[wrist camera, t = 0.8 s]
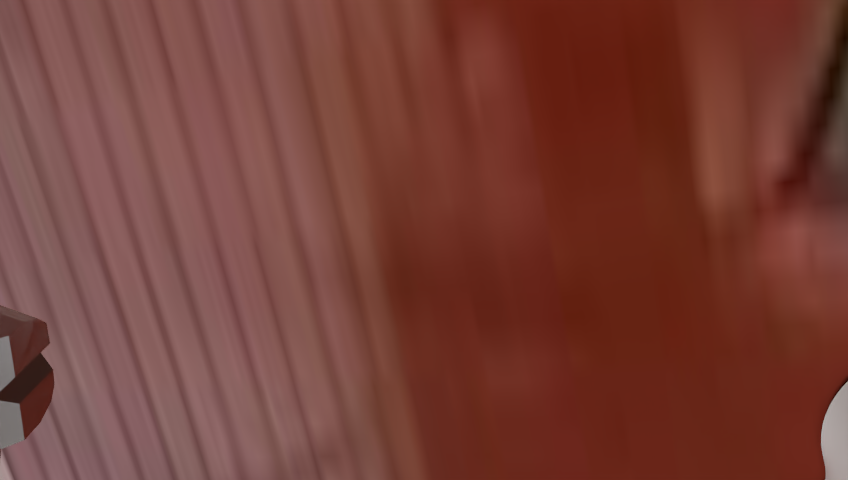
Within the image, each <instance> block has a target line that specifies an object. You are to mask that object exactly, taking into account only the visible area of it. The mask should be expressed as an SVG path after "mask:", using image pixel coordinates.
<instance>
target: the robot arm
mask: <svg viewBox="0 0 848 480" xmlns="http://www.w3.org/2000/svg"><path fill="white" fill-rule="evenodd" d="M49 344H50V341H49V336H48V330H47V324H46V323H45V322H43V321H41V320H39V319H37V318H35V317H32V316H29V315H26V314H23V313H21V312H18V311H15V310H12V309H9V308H6V307H4V306H1V305H0V456H1V449H3V448H5V447H8V446H10V445H13V444H15V443H18V442H20V441H23V440H25V439H26V438H27V437H28V435H29V434H30V433H31V432H32V431H33V430H34V429H35V428H36V426H37V425H38V424H39V423H40V422H41V420H42V418H43V416H44V414H45V412H46V410H47V408H48V406H49V404H50V402H51V399H52V394H53V388H54V376H53V369H52V368H51V366H50V365H49V364H48V362H47V361H46V360H45V358H44V357H43V355H42V354H41V353H40V352H41V351H42V350H43V349H44V348H46V347H47V346H48V345H49ZM821 447H822V453H823V458H824V463H825V469H826V479H825V480H848V381H847V382H846V383H845V385H844V386H843V387H842V388H841V389H840V390H839V392H838V393H837V394H836V396H835V397H834V399H833V400H832V402H831V404H830V406H829V408H828V410H827V413H826V415H825V418H824V421H823V426H822V433H821Z"/></svg>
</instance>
